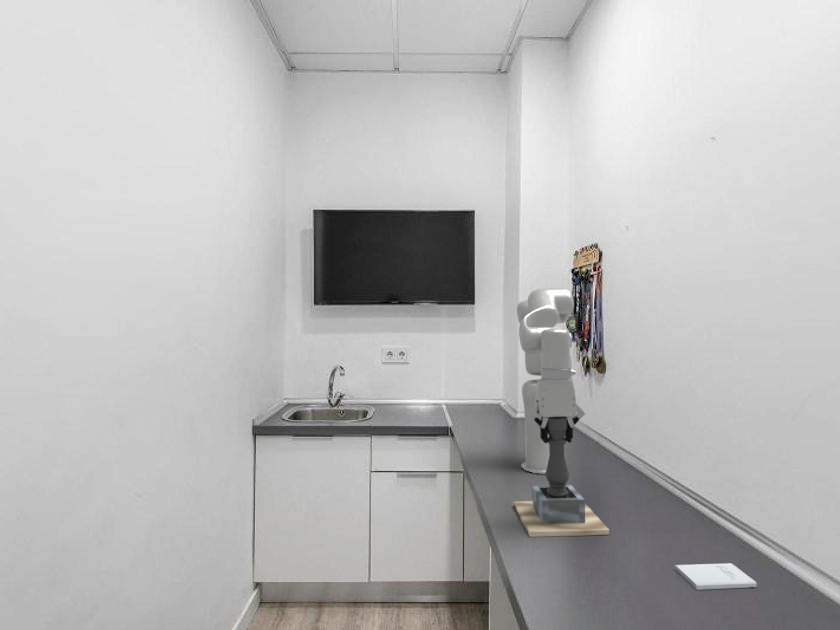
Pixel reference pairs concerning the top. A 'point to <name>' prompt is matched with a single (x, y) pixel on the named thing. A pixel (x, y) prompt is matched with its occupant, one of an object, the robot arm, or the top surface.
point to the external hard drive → (715, 576)
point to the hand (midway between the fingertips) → (556, 440)
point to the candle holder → (557, 458)
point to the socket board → (558, 515)
